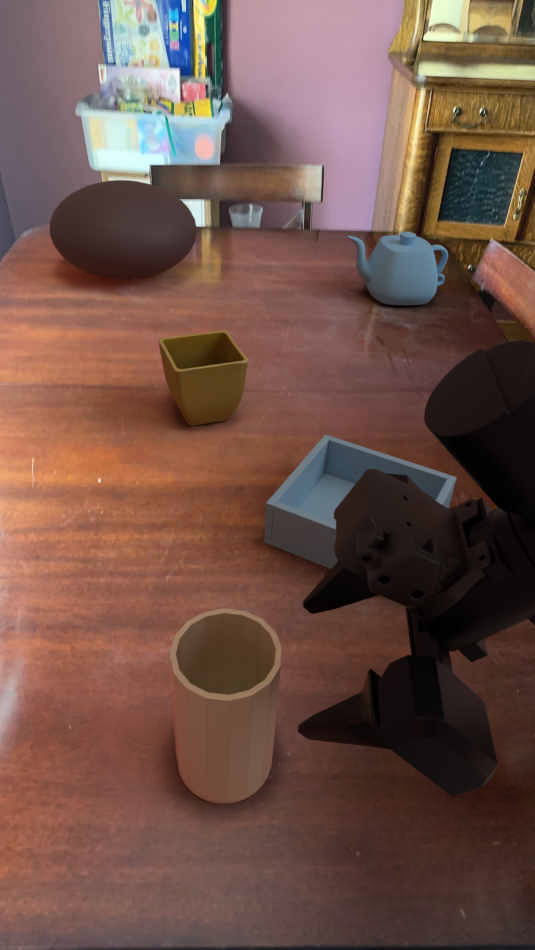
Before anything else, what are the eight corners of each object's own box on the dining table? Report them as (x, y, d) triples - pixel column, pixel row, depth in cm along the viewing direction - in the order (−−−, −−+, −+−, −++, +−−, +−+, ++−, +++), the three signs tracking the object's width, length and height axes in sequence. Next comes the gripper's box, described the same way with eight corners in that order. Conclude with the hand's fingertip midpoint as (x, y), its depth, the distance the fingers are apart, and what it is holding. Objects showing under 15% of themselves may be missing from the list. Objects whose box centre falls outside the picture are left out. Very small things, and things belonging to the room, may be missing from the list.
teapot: (340, 221, 115) (441, 221, 118) (334, 281, 122) (430, 281, 124) (356, 246, 105) (467, 246, 108) (349, 310, 112) (453, 309, 114)
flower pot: (161, 401, 87) (157, 337, 81) (225, 391, 89) (226, 328, 84) (178, 438, 80) (175, 371, 75) (247, 426, 83) (249, 361, 77)
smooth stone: (46, 255, 126) (32, 169, 117) (175, 243, 134) (172, 162, 125) (69, 306, 108) (55, 211, 99) (216, 289, 117) (216, 199, 108)
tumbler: (288, 740, 50) (300, 635, 43) (242, 822, 45) (247, 719, 38) (209, 700, 52) (208, 594, 45) (158, 774, 47) (147, 668, 40)
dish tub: (446, 515, 71) (457, 476, 68) (404, 599, 61) (414, 558, 58) (320, 471, 76) (325, 434, 73) (263, 542, 67) (266, 502, 64)
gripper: (426, 357, 39) (231, 491, 46) (487, 602, 24) (184, 745, 31) (525, 477, 43) (334, 582, 50) (629, 746, 28) (337, 841, 35)
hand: (304, 665), depth 42 cm, fingers open, 9 cm apart
